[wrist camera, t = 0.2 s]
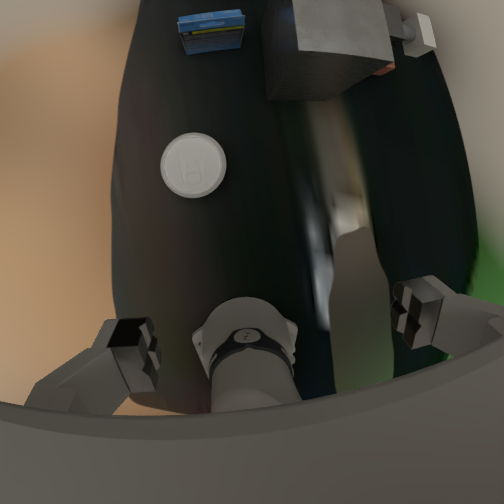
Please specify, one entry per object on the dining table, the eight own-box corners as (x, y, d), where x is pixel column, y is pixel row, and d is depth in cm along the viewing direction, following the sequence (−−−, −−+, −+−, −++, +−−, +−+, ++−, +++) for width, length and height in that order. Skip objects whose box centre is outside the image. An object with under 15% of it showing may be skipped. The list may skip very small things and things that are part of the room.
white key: (416, 57, 30) (436, 47, 26) (381, 49, 30) (400, 37, 25) (410, 28, 29) (428, 16, 24) (376, 19, 29) (392, 5, 24)
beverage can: (223, 138, 45) (223, 127, 34) (228, 189, 47) (229, 195, 36) (171, 144, 45) (155, 136, 33) (177, 195, 47) (162, 203, 35)
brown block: (380, 75, 41) (395, 68, 36) (350, 71, 41) (362, 63, 36) (377, 50, 40) (390, 41, 35) (346, 45, 39) (358, 35, 35)
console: (349, 102, 45) (424, 68, 24) (266, 100, 44) (298, 50, 23) (340, 31, 42) (399, -29, 20) (260, 26, 41) (283, -51, 19)
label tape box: (238, 30, 41) (242, -7, 29) (241, 50, 42) (246, 16, 30) (184, 37, 40) (174, 2, 28) (186, 57, 41) (176, 25, 29)
